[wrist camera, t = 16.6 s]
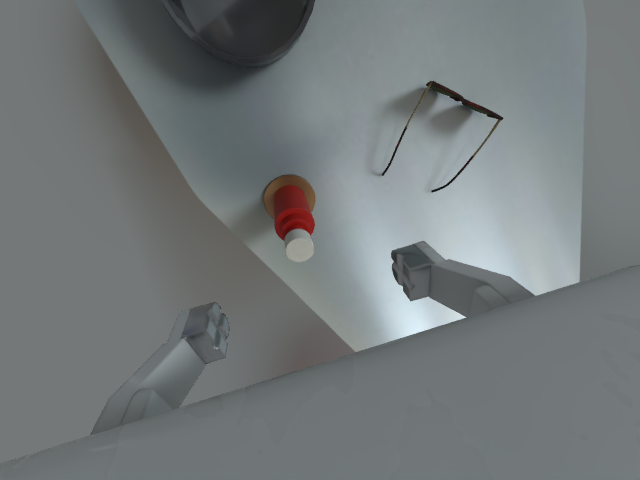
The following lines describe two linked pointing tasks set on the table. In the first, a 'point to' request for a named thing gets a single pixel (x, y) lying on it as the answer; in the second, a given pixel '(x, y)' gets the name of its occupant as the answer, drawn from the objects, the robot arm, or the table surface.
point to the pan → (242, 27)
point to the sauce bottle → (294, 222)
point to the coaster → (285, 181)
